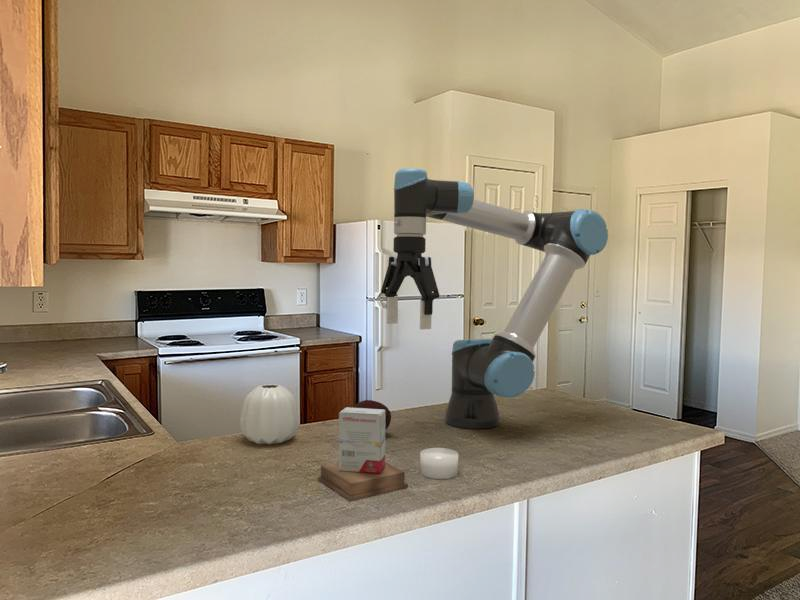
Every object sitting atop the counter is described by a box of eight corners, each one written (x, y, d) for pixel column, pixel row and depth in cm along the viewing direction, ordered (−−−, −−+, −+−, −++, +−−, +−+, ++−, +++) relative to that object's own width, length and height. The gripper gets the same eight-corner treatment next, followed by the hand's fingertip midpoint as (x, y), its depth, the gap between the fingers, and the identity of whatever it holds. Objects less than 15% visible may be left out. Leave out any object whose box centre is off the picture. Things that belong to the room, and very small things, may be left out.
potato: (396, 439, 152) (396, 402, 152) (349, 443, 148) (349, 405, 148) (384, 430, 161) (385, 395, 160) (340, 434, 156) (340, 398, 156)
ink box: (386, 466, 123) (387, 408, 123) (380, 474, 119) (381, 414, 118) (345, 463, 125) (345, 405, 124) (337, 471, 120) (338, 411, 120)
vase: (293, 430, 159) (293, 379, 158) (302, 446, 146) (302, 390, 145) (238, 434, 154) (238, 381, 154) (242, 451, 141) (242, 393, 140)
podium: (372, 468, 131) (372, 454, 131) (407, 487, 120) (408, 472, 120) (317, 479, 124) (317, 465, 123) (350, 501, 113) (350, 485, 113)
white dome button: (441, 463, 135) (442, 445, 135) (465, 474, 128) (466, 455, 128) (412, 470, 130) (412, 451, 130) (435, 481, 124) (436, 462, 123)
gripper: (368, 236, 152) (366, 322, 154) (429, 234, 132) (427, 332, 133) (393, 237, 157) (391, 320, 158) (456, 235, 136) (454, 330, 138)
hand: (408, 326), depth 146 cm, fingers open, 13 cm apart
